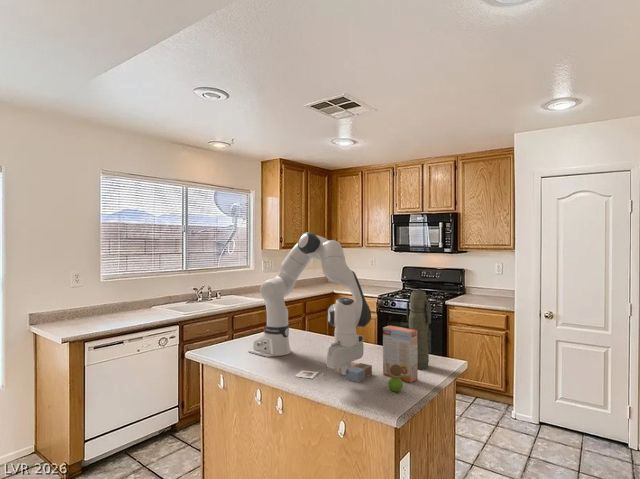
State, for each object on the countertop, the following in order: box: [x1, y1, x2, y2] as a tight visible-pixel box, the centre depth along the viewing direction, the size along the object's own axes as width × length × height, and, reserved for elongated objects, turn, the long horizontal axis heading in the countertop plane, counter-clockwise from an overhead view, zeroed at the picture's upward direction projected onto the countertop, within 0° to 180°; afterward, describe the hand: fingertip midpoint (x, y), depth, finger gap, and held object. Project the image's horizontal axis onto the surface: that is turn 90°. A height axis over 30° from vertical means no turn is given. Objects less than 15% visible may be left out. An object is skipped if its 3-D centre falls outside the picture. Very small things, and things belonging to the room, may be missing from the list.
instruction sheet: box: [294, 369, 319, 380], centre depth 168 cm, size 8×8×1 cm
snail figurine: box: [386, 359, 404, 393], centre depth 150 cm, size 5×6×12 cm
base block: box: [353, 362, 373, 379], centre depth 168 cm, size 6×6×4 cm
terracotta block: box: [338, 361, 359, 375], centre depth 171 cm, size 6×6×4 cm
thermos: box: [406, 289, 432, 370], centre depth 179 cm, size 9×12×35 cm
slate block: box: [345, 367, 366, 383], centre depth 163 cm, size 6×6×4 cm
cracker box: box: [382, 325, 419, 383], centre depth 165 cm, size 14×6×21 cm, turn 43°
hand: (345, 373), depth 155 cm, fingers closed
